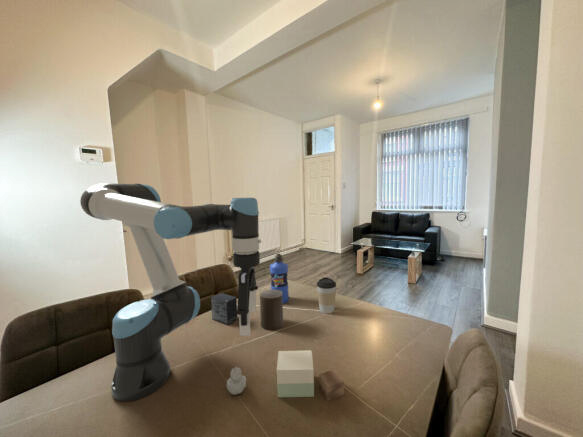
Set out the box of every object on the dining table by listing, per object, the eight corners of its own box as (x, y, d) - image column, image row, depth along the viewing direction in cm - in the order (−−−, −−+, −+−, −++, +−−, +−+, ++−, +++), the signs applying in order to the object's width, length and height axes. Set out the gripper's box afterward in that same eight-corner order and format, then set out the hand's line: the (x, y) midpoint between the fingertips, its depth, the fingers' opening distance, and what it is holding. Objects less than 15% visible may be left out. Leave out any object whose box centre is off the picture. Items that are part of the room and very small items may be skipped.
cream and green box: (277, 397, 66) (276, 370, 65) (279, 375, 74) (278, 351, 73) (314, 396, 66) (313, 369, 65) (312, 374, 74) (311, 350, 73)
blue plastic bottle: (273, 296, 132) (271, 252, 129) (289, 296, 131) (288, 251, 128) (269, 304, 123) (267, 256, 120) (287, 304, 122) (286, 256, 119)
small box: (238, 318, 109) (237, 296, 108) (227, 325, 104) (226, 302, 103) (222, 313, 115) (221, 292, 114) (211, 319, 109) (210, 297, 108)
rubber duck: (227, 401, 65) (225, 373, 64) (227, 383, 72) (225, 357, 71) (247, 396, 67) (245, 369, 66) (245, 379, 73) (244, 354, 72)
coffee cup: (338, 314, 110) (337, 283, 108) (318, 315, 110) (317, 283, 108) (334, 305, 119) (334, 276, 117) (316, 306, 119) (315, 276, 117)
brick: (327, 400, 64) (327, 387, 64) (319, 387, 69) (319, 374, 69) (343, 395, 66) (343, 381, 66) (334, 382, 71) (334, 369, 70)
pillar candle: (268, 333, 97) (267, 297, 96) (256, 323, 105) (255, 290, 103) (287, 324, 103) (287, 290, 102) (274, 316, 111) (274, 284, 109)
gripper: (254, 263, 57) (256, 347, 59) (263, 242, 81) (264, 302, 84) (222, 264, 56) (226, 348, 59) (240, 242, 81) (243, 302, 83)
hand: (248, 321), depth 71 cm, fingers open, 13 cm apart
